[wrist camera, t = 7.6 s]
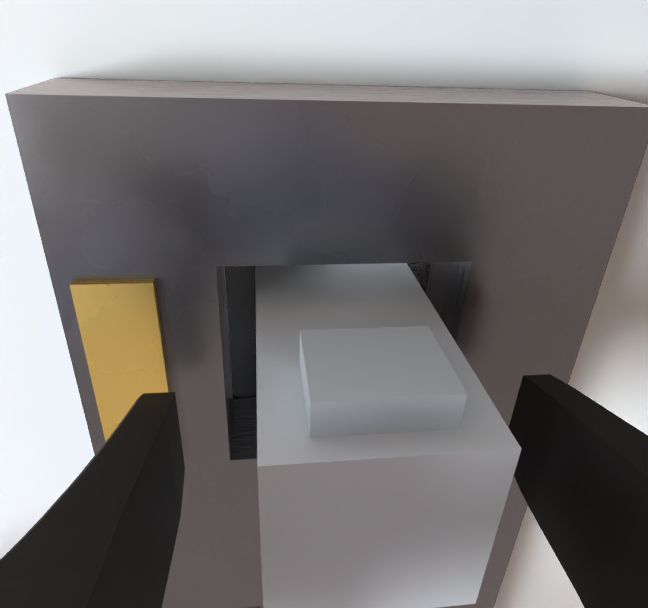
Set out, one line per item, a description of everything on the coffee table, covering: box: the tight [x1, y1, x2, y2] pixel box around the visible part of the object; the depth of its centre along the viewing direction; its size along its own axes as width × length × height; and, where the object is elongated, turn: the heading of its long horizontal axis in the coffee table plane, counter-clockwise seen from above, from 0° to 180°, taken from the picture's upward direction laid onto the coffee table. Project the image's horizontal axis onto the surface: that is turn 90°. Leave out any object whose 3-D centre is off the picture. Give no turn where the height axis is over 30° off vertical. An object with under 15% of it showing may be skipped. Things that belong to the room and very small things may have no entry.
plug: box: [256, 263, 521, 608], centre depth 11 cm, size 4×5×7 cm
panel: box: [5, 78, 648, 608], centre depth 16 cm, size 12×24×3 cm, turn 178°
